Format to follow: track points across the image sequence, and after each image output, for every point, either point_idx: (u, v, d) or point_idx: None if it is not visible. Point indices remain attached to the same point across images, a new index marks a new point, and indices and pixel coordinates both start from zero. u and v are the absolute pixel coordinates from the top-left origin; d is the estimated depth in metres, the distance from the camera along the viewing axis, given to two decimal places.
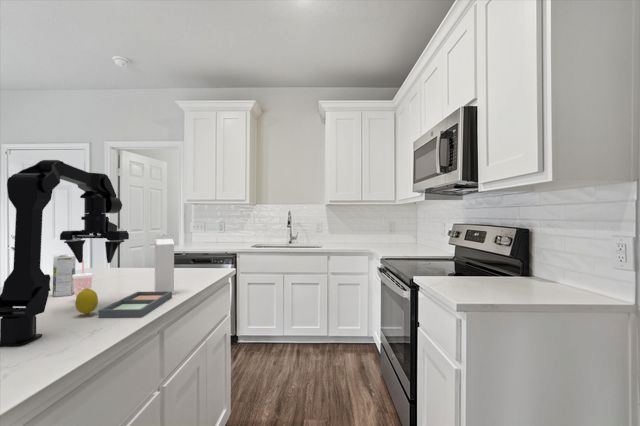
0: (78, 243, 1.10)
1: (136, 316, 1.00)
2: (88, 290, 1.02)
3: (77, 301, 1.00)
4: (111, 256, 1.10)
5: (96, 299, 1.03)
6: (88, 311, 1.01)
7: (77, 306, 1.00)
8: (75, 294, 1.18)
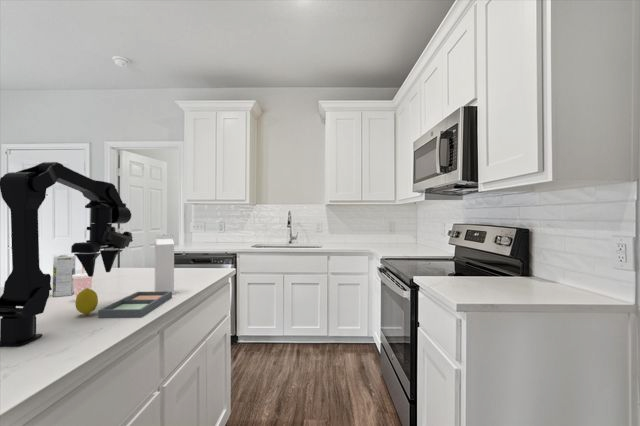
0: (108, 253, 1.12)
1: (136, 316, 1.00)
2: (88, 290, 1.02)
3: (77, 301, 1.00)
4: (88, 269, 1.02)
5: (96, 299, 1.03)
6: (88, 311, 1.01)
7: (77, 306, 1.00)
8: (75, 294, 1.18)
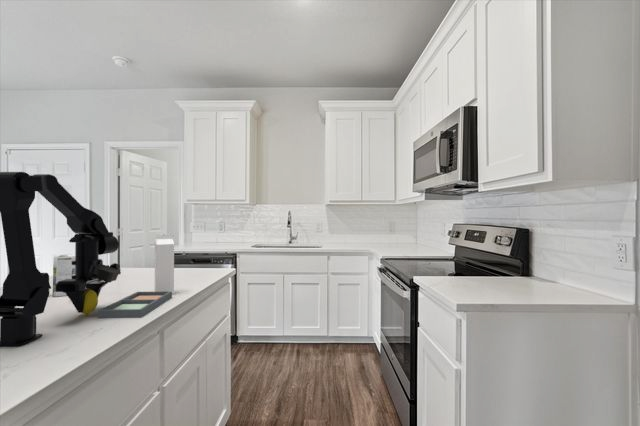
0: (92, 286, 1.06)
1: (136, 316, 1.00)
2: None
3: None
4: (78, 306, 0.99)
5: (96, 299, 1.03)
6: (88, 311, 1.01)
7: None
8: None
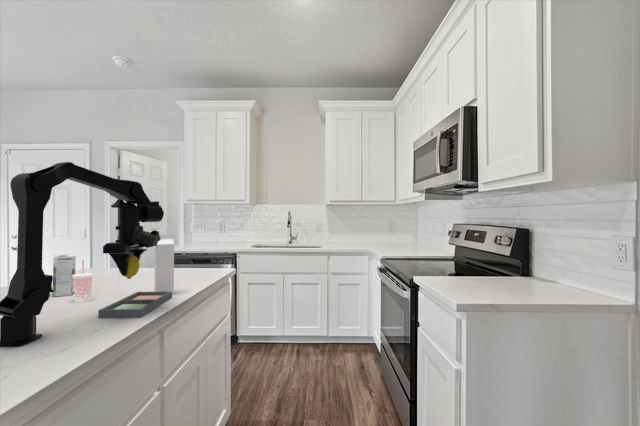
0: (133, 252, 1.10)
1: (136, 316, 1.00)
2: None
3: None
4: (122, 268, 1.03)
5: (138, 263, 1.07)
6: (131, 275, 1.05)
7: None
8: (75, 294, 1.18)
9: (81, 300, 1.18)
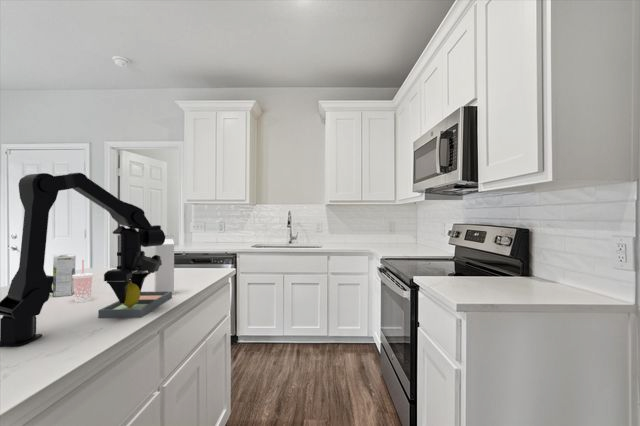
0: (136, 276, 1.11)
1: (136, 316, 1.00)
2: (131, 284, 1.06)
3: None
4: (120, 296, 1.01)
5: (139, 293, 1.07)
6: (132, 304, 1.05)
7: None
8: (75, 294, 1.18)
9: (81, 300, 1.18)
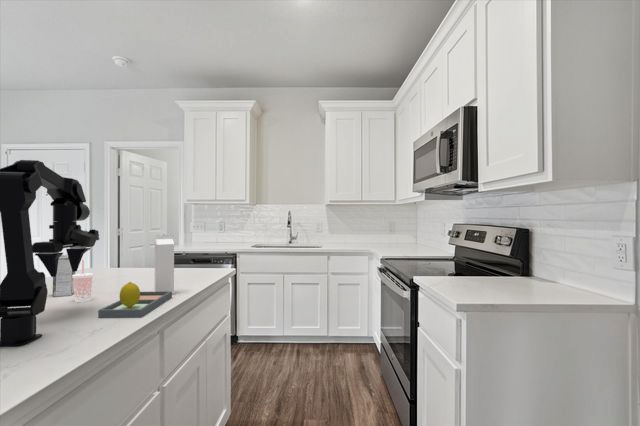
0: (74, 251, 1.08)
1: (136, 316, 1.00)
2: (131, 284, 1.06)
3: (122, 294, 1.04)
4: (51, 270, 0.98)
5: (139, 292, 1.07)
6: (132, 304, 1.05)
7: (122, 299, 1.04)
8: (75, 294, 1.18)
9: (81, 300, 1.18)
